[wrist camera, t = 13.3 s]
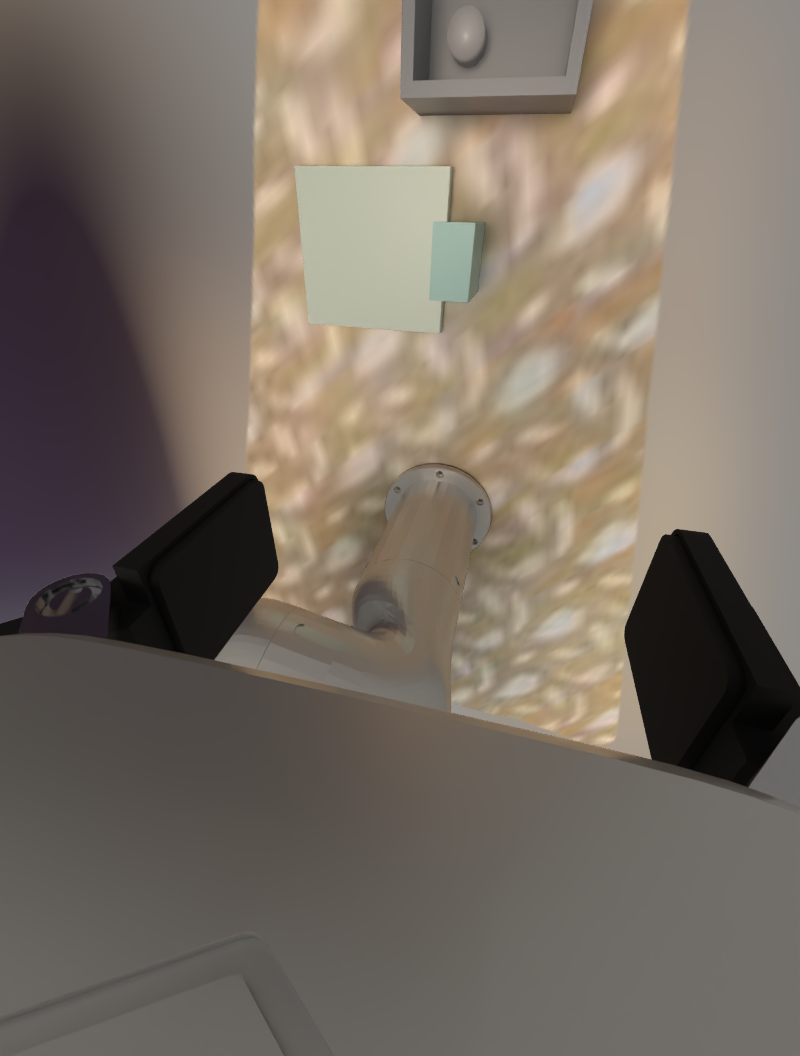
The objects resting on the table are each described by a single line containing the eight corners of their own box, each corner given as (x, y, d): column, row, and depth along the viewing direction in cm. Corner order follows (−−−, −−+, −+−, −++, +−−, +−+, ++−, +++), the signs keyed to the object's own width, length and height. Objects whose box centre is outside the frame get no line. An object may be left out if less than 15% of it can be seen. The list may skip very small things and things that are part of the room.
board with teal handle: (313, 321, 44) (281, 335, 39) (300, 167, 38) (259, 158, 32) (473, 333, 41) (463, 350, 36) (491, 167, 34) (481, 157, 29)
